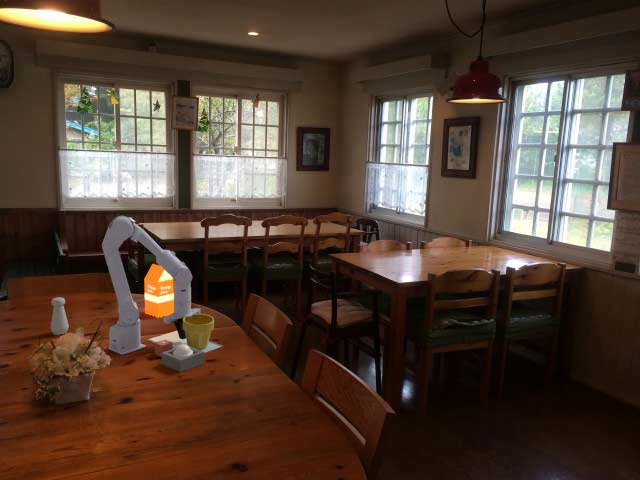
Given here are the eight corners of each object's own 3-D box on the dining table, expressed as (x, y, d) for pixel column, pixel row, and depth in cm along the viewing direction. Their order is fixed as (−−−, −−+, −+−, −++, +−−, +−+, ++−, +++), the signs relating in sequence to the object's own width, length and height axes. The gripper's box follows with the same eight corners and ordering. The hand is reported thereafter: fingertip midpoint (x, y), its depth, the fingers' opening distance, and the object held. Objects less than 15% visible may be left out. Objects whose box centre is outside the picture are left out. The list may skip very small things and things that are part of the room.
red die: (162, 357, 172) (162, 345, 171) (154, 354, 174) (154, 342, 173) (172, 353, 175) (172, 342, 174) (164, 350, 177) (164, 339, 177)
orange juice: (158, 318, 211) (157, 268, 208) (144, 313, 216) (143, 265, 213) (174, 313, 217) (173, 265, 214) (160, 309, 222) (160, 262, 219)
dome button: (181, 364, 163) (181, 349, 162) (169, 359, 166) (169, 345, 166) (197, 359, 168) (196, 344, 167) (184, 354, 171) (184, 340, 170)
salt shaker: (72, 331, 193) (70, 296, 191) (63, 336, 187) (61, 300, 185) (56, 330, 193) (55, 295, 191) (47, 335, 188) (45, 299, 185)
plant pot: (175, 348, 178) (177, 321, 176) (190, 337, 188) (191, 311, 186) (204, 354, 176) (206, 327, 174) (217, 342, 186) (219, 316, 184)
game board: (191, 357, 172) (191, 357, 172) (146, 340, 186) (146, 339, 186) (223, 346, 184) (223, 345, 184) (178, 330, 198) (178, 330, 198)
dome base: (180, 372, 161) (180, 360, 160) (161, 364, 166) (161, 352, 166) (204, 363, 168) (204, 351, 168) (185, 355, 174) (185, 344, 173)
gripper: (172, 307, 175) (173, 346, 177) (206, 298, 187) (206, 335, 189) (159, 303, 179) (159, 341, 181) (193, 294, 191) (193, 331, 193)
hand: (182, 338), depth 185 cm, fingers closed, pressing on plant pot
